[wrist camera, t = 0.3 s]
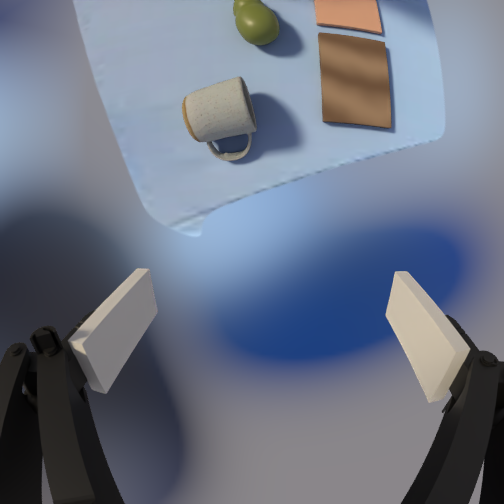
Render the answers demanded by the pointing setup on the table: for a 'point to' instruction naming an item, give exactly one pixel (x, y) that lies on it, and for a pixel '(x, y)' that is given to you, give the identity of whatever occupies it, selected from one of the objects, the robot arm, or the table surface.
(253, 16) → the green oblong lump
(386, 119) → the walnut board
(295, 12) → the table surface
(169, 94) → the table surface
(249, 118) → the ceramic mug
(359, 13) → the terracotta tile
